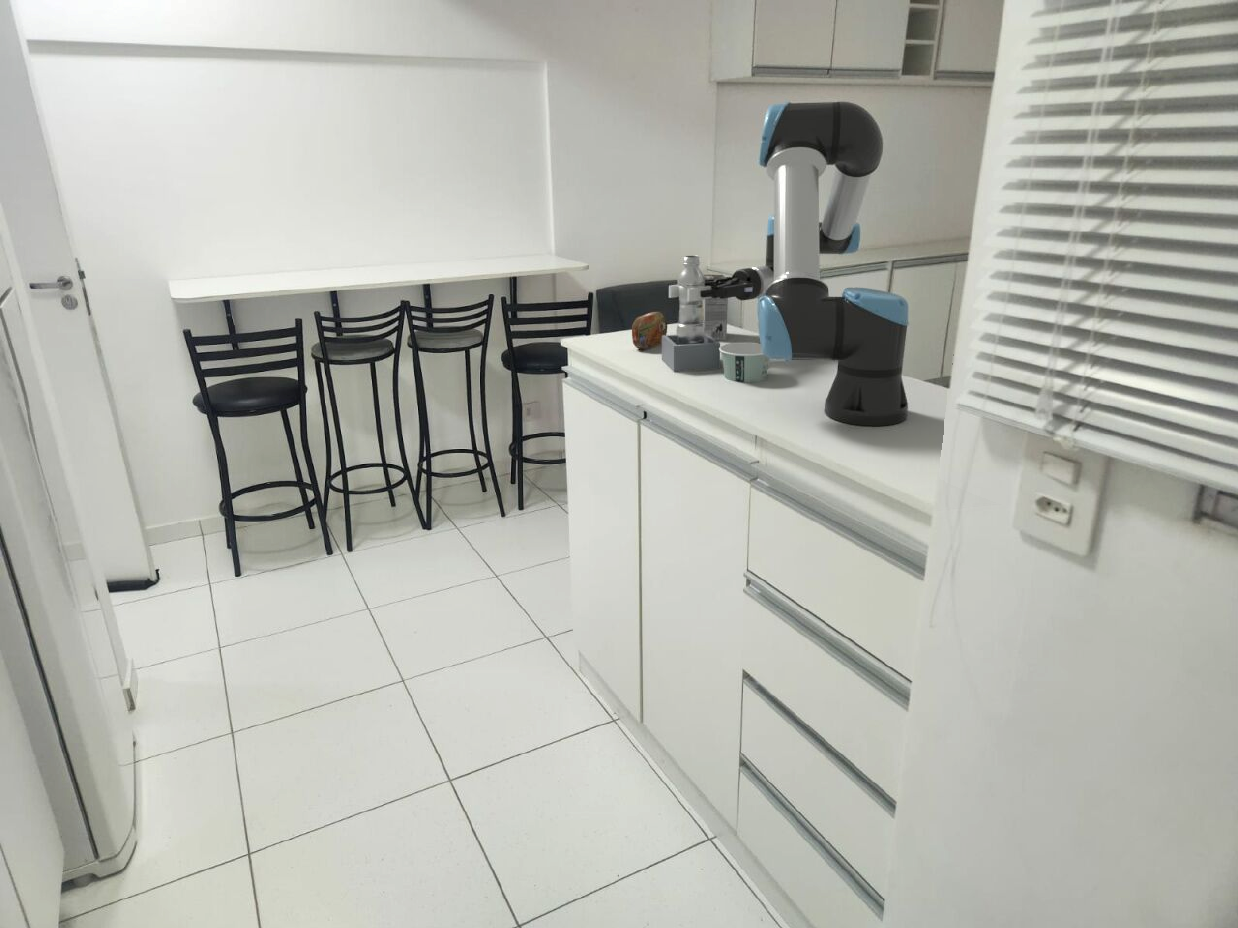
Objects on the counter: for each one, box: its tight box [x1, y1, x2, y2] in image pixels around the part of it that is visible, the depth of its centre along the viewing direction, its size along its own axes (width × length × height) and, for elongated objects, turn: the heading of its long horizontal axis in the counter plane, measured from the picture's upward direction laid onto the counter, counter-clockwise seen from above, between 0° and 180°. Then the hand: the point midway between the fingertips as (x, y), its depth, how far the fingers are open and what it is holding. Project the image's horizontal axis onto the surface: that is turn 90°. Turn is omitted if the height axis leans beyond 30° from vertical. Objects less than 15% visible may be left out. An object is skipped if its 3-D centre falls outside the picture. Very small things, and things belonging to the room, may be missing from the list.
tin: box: [631, 311, 668, 350], centre depth 210 cm, size 15×3×8 cm, turn 148°
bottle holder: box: [661, 333, 721, 373], centre depth 191 cm, size 12×11×6 cm
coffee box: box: [702, 274, 729, 341], centre depth 217 cm, size 9×6×16 cm
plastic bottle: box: [676, 255, 705, 344], centre depth 187 cm, size 6×7×20 cm
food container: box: [719, 341, 771, 383], centre depth 179 cm, size 12×12×6 cm
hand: (679, 293), depth 184 cm, fingers closed on plastic bottle, 6 cm apart
